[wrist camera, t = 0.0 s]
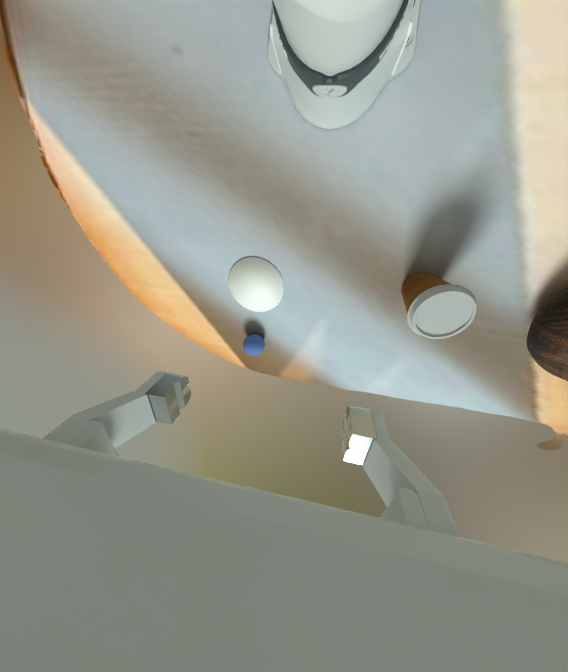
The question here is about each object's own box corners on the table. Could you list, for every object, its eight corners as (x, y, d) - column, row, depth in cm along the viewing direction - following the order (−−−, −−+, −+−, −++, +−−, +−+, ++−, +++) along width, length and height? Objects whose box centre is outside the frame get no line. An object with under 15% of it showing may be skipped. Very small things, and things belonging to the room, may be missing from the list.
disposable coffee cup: (409, 257, 41) (433, 280, 31) (457, 272, 41) (496, 299, 31) (384, 301, 47) (397, 331, 37) (426, 314, 47) (451, 348, 37)
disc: (226, 254, 47) (225, 254, 47) (285, 260, 45) (285, 260, 45) (231, 307, 54) (231, 307, 54) (282, 314, 53) (282, 315, 53)
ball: (246, 328, 57) (239, 340, 53) (267, 331, 57) (261, 344, 52) (247, 345, 61) (240, 357, 56) (266, 348, 60) (261, 361, 55)
